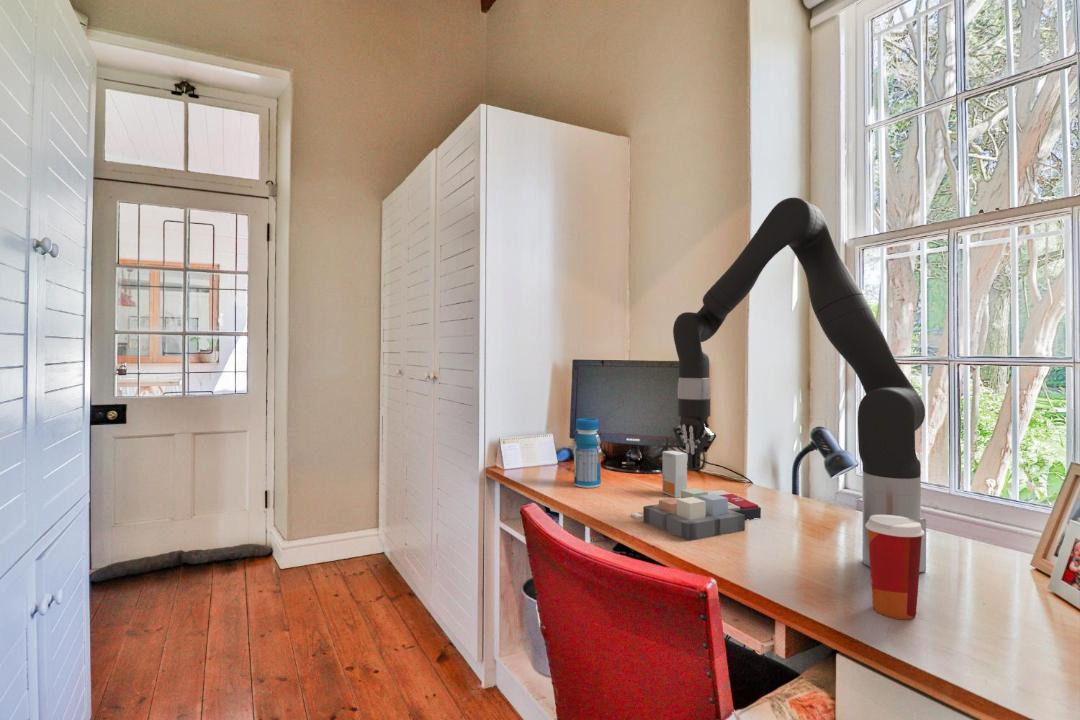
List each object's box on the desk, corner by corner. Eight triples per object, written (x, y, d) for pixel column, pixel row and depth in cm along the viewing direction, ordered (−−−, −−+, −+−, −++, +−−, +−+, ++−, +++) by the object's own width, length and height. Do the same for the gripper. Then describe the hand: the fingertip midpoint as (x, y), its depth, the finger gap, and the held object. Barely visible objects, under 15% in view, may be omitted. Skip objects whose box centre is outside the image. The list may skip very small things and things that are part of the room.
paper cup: (901, 600, 92) (902, 513, 91) (936, 622, 84) (936, 527, 84) (854, 601, 91) (854, 513, 91) (884, 623, 84) (884, 528, 84)
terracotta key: (686, 519, 132) (686, 502, 132) (670, 521, 130) (670, 504, 130) (673, 514, 136) (673, 497, 136) (658, 517, 134) (658, 500, 134)
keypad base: (744, 530, 128) (744, 514, 128) (688, 540, 121) (688, 524, 121) (696, 512, 142) (696, 498, 142) (643, 521, 135) (643, 506, 135)
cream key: (705, 519, 126) (705, 501, 126) (689, 522, 124) (689, 503, 124) (692, 514, 130) (692, 496, 130) (676, 516, 128) (676, 499, 128)
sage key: (707, 508, 135) (707, 491, 135) (693, 511, 133) (693, 493, 133) (695, 504, 139) (695, 487, 139) (680, 506, 137) (680, 489, 137)
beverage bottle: (583, 489, 167) (583, 421, 167) (568, 484, 174) (567, 418, 174) (607, 486, 171) (606, 419, 171) (591, 481, 178) (591, 417, 178)
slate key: (727, 515, 129) (727, 498, 129) (712, 518, 127) (712, 500, 127) (714, 510, 133) (714, 493, 133) (699, 513, 131) (699, 495, 131)
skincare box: (661, 493, 163) (661, 451, 163) (673, 491, 164) (673, 450, 164) (675, 498, 157) (675, 454, 157) (687, 496, 159) (687, 453, 159)
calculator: (723, 509, 134) (687, 491, 148) (723, 527, 134) (686, 507, 148) (762, 504, 137) (722, 487, 152) (761, 522, 138) (722, 503, 152)
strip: (690, 510, 144) (690, 507, 144) (638, 518, 137) (638, 515, 137) (683, 507, 147) (683, 505, 147) (631, 515, 140) (631, 512, 140)
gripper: (726, 398, 131) (726, 473, 132) (687, 394, 143) (687, 463, 144) (700, 399, 128) (700, 476, 128) (663, 395, 140) (663, 466, 140)
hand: (693, 469), depth 136 cm, fingers closed
